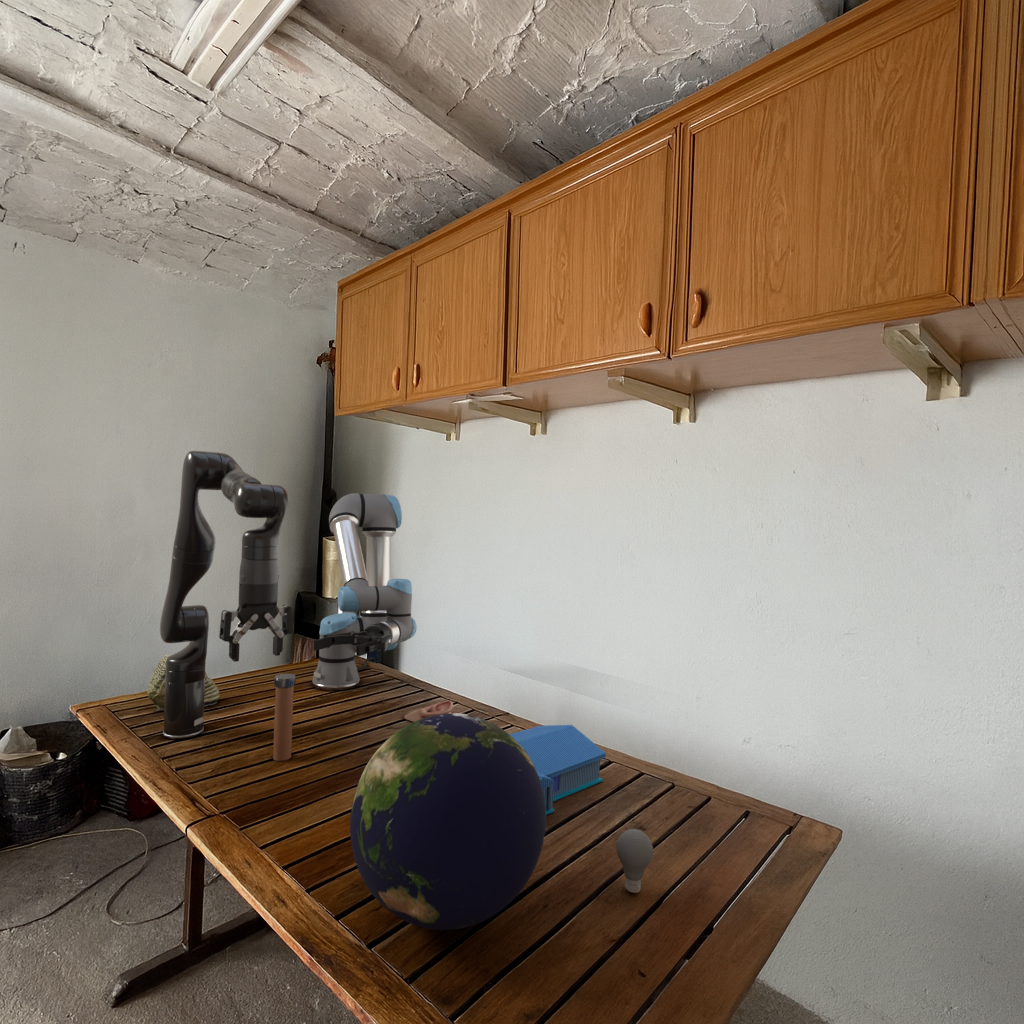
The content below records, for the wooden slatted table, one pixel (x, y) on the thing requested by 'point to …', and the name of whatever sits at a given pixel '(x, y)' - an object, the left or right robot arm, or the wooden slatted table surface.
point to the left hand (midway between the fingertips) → (256, 657)
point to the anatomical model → (430, 711)
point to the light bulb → (634, 857)
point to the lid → (284, 680)
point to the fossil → (158, 687)
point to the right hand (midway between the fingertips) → (335, 648)
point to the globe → (448, 821)
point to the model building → (561, 760)
